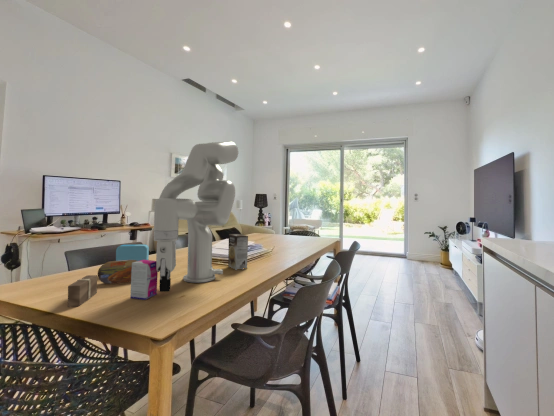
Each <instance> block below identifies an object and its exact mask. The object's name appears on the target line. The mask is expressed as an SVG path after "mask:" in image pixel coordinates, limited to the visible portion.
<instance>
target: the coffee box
mask: <svg viewBox="0 0 554 416" xmlns="http://www.w3.org/2000/svg"><path fill="white" fill-rule="evenodd" d="M248 248H249V236H248V235H245V234H240V233H229V234H228V256H227V259H228V262H227V264H228V265H227V267H228V266H229V267H228V268H230V267H231V269H232V268H233V270H234V269H235V271H238V270H237V269H242V270H244V269H243V268H247V269H248V254H249V253H248V252H249V249H248Z"/></svg>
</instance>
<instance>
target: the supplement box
mask: <svg viewBox="0 0 554 416" xmlns="http://www.w3.org/2000/svg"><path fill="white" fill-rule="evenodd" d="M158 273H159V272H158V271H157V270H156V260H141V261H137V262H133V263H132V273H131V282H130V296H129V298H130V299H133V300H134V299H135V300H142V301H146V300H148V299H150V298H151V297H154V296H157V294H158Z"/></svg>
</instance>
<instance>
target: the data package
mask: <svg viewBox="0 0 554 416" xmlns="http://www.w3.org/2000/svg"><path fill="white" fill-rule="evenodd" d="M149 251H150V248H149V245H148V244H139V243H137V244H121V245H119V246H117V247H116V250H115V261H123V260H136V261H141V260H149V258H150V257H149V256H150V255H149V254H150V252H149Z"/></svg>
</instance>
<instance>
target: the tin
mask: <svg viewBox="0 0 554 416" xmlns="http://www.w3.org/2000/svg"><path fill="white" fill-rule="evenodd" d="M133 262H137V261H136V260H123V261H116V260H113V261H111V260H110V261H107V262H105V263H103V264H102V265H101V266H99V268H98V271H97V279H98V281H100V282H101V283H103V284H105V285H115V284H123V283H131V273H132V263H133Z"/></svg>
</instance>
